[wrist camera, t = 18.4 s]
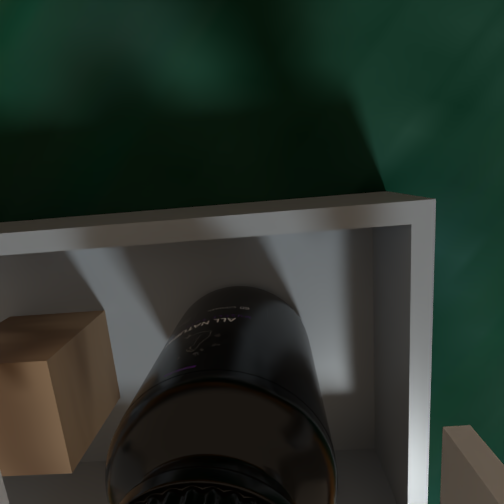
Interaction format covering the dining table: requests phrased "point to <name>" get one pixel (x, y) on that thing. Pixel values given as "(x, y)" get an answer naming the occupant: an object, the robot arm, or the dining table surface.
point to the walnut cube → (53, 390)
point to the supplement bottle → (227, 412)
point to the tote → (269, 279)
